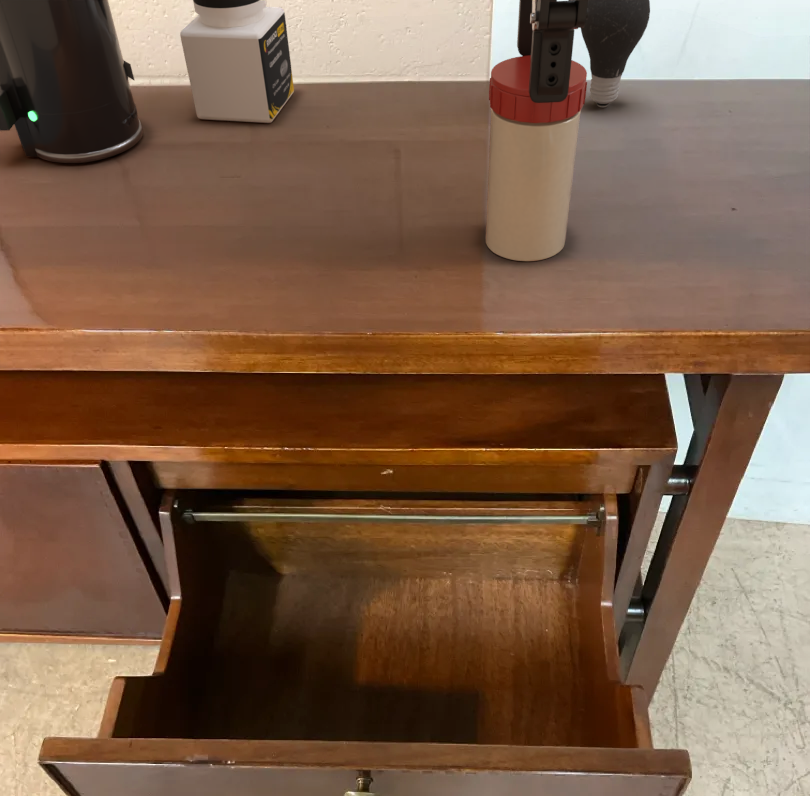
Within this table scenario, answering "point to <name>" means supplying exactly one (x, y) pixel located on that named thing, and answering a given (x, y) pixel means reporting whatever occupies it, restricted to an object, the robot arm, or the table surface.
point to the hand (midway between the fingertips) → (540, 75)
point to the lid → (515, 100)
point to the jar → (529, 186)
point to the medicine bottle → (238, 60)
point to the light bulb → (612, 42)
